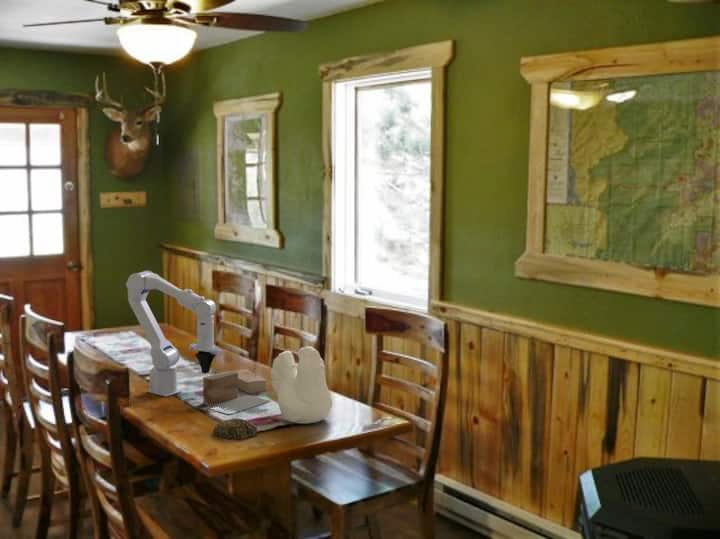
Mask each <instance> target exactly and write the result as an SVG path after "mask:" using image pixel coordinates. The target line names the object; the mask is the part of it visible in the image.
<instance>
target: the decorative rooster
mask: <svg viewBox="0 0 720 539" xmlns="http://www.w3.org/2000/svg"><path fill="white" fill-rule="evenodd" d="M277 355H278V356H277V357H275V358H274V360H273V363H272V365H271V366H272V368H271V370H270V378H271V380H272V382H271V383H272V388H273V391H274V392H275V393H276V395H277V403H278V406H279V411H280V414H281V415H282V417H283V418H284V420H286V421H287V422H290V423H295V424H313V423H318V422H320V421H322V420H324V419H326V418H327V417H328V415H329V414H330V412H331V409H332V407H333V401H332V400H333V399H332V397H331V393H330V391H329V387H328V384H327V379H326V366H325V362H324V359H322V357H321V354H320V352H319V351H318V350H317V349H316V348H314V347H312V346H309V345H308V346H304V347H301V348H299V349H298V351H297V357H298V362H297V363H296V361H295V357H294V355H293V353H292V351H290V350H285V351H283V352H281V353H278V354H277Z"/></svg>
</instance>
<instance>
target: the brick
mask: <svg viewBox="0 0 720 539" xmlns="http://www.w3.org/2000/svg"><path fill="white" fill-rule="evenodd" d="M231 371H232V370H231ZM232 372H237V373H238V388H239V389H238V390H241V391H242V392H246V393H247V394H251V393H258V392H266V391H267V387H268V386H267V379H265V378H263V377H261V376H258V375H257V374H255V373H253V372H252V371H250V370H248V369H246V368H245V369H237V370H233V371H232Z"/></svg>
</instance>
